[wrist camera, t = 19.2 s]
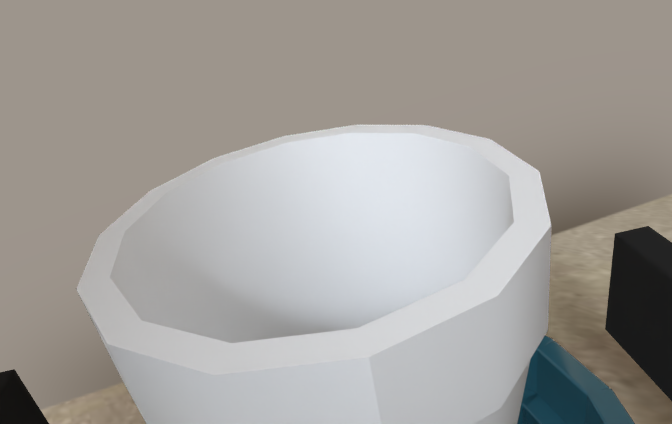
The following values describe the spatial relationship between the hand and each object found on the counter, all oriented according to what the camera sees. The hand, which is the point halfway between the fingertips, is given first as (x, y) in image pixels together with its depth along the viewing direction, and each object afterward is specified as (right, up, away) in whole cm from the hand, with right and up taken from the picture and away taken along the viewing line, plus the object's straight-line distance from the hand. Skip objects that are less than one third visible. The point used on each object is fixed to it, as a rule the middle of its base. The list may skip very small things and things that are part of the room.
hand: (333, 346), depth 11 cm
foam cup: (+2, -8, +6) cm, 10 cm away
